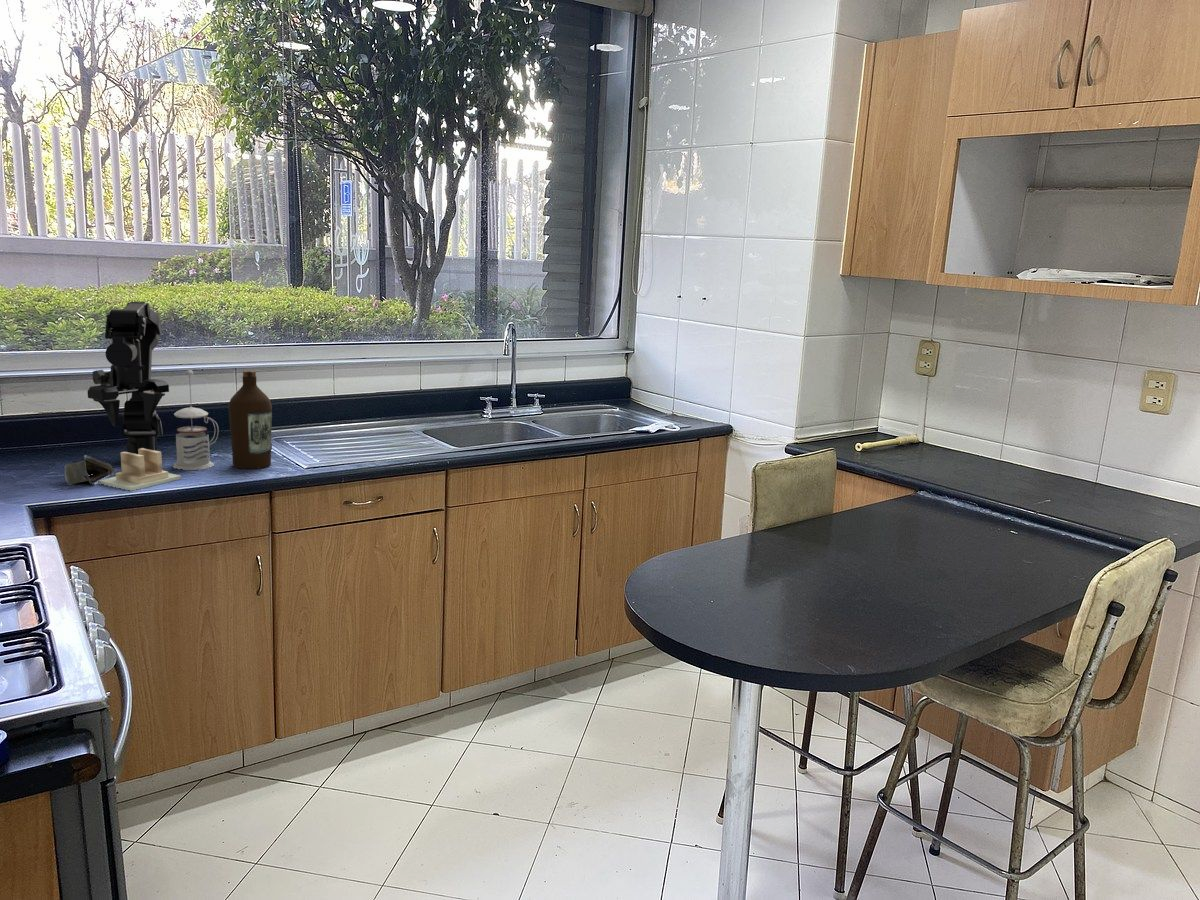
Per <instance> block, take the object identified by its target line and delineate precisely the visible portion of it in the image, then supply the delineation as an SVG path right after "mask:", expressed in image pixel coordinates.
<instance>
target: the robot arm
mask: <svg viewBox="0 0 1200 900" xmlns="http://www.w3.org/2000/svg"><path fill="white" fill-rule="evenodd" d="M105 321H106V322H105V332H104V333H105V334H104V339H106V340H109V339H111V341H112V342H111V343H110V344H109V345H108V346H107V347H106V350H105V357H106V360H107V361H108V362H109V363H110V371H108V372H107V371H104V370H103V369H98V370H97V369H96V370H93V371H92V381H93V384H94V386H93V385H90V386H89V388H88V389H87V398H88V399H92V400H93V401H94V402H96V403H99V404H100V405H101V406H102V408H103V409H104V411H105V413H106V415H107V417H108V419H109V421H110V423H111V426H112V427H116V428H117V427H118V423H119V419H120V425H121V433H122V437H123V438H127V442H126V449H127V451H126V452H129V453H134V454H138V449H141V448H144V449H149V450H154V451H158V441H157V440H158V439H157V438H159V436H160V437H161V436H163V426H162V421H161V418H160V417H159V414H158V413H157V411H156V409H157V407H158V405H159V403H160V402H161V400H162V397H165V396H166V393H169V392H170V385H169V384H168V382H167V380H164V379H162V380H161V379H158V378H156V379H155V378H152V362H153V361H152V359H153V350H154V349H155V348H156V347H157V346H158V345H159V342H160V336H162V334H163V333H162V332H163V330H162V328H163V327H162V326H163V325H162V322H161V317H160V314H158V313H157V312H156V311H154V309H152V308H151V305H150V303H149V302H146V301H128V302H127V303H126V306H125V307H124V308H122V309H119V308H118V309H116V308H111V309H110V310H109V313H107V314H106V320H105ZM126 394H127V395H128V394H131V397H130V398H129V399H128V400H125V402H124V404H123V405H124V407H123V413H122V414H121V416H120V404H121V403H120V402H121V400H120V399H118V397H119V395H126ZM119 416H120V418H119Z"/></svg>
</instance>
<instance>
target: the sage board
mask: <svg viewBox="0 0 1200 900" xmlns="http://www.w3.org/2000/svg"><path fill="white" fill-rule="evenodd" d="M168 477H169V478H165V479H161V480H157V481H152V482H148V483H144V484H135V483H130V482H126V481H121V480H117V479H116V476H111V477H108V478H106V479H103V480H98V483H99V484H98V485H101V484H104V485H103V486H106V485H108V486H107V487H110V486H113V487H112V488H115V487H116V488H115V489H119V488H121V489H120V490H124V489H125V491H128V490H130V491H129V492H132V490H133V491H136V489H137V490H140V488H141V489H145V488H149V487H154V486H157V485H158V486H159V485H162V484H165V483H169V482H170V483H171V482H174V481H179V480H182V475H179V474H175V473H170V472H168Z"/></svg>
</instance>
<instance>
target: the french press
mask: <svg viewBox="0 0 1200 900" xmlns="http://www.w3.org/2000/svg"><path fill="white" fill-rule="evenodd" d="M185 375H186V376H188V377H189V378H188V379H189V380H188V381H189V382H191V376H194V371H193V370H191V369H189V370H185ZM191 386H192V385H191V384H189V397H190V398H189V399H190V404H192V392H191V391H192V389H191ZM173 415H174V417H176V418H180V419H190V421H191V426H190V425H187V426H182V427H178V428H177V429H176V431H177V432H178V433H176V434H175V445H176V462H175V463H174V464H173V465H174V466H172V468H174V469H176V468H177V469H176V470H180V469H183V470H184V471H196V470H197V469H198V470H204V469H205V470H206V469H210V468H211V467H214V466H215V464H214V463H213V462H212V461H211V459H210V458H211V457H210V452H211V451H210V446H212V445H213V444H215V443H216V441H217V440H218V438H219V434H220V431H219V430H220V428H219V425H218V423H217V421H216V420H214V419H213V418H211V417H208V415H209V412H208V411H206V410H204V409H202V408H199V407H194V406H189V407H185V408H181V409H179V410H177V411H176V412H174V413H173ZM199 418H200V419H201V418H203V421H204V423H205V424H208V423H209V421H210V422H212V424H213V427H214V428H213V429H214V433H213V436H212V438H211V440H210V437H209V433H206V431H207V430H208V428H207V427H205V426H200V425H199V426H198V425H193V419H199ZM216 428H217V430H216ZM216 431H217V434H216ZM189 436H190V437H189ZM215 436H216V438H215ZM213 440H214V441H213ZM212 441H213V442H212ZM186 447H187V448H186ZM193 451H194V452H193ZM186 452H187V453H186ZM209 467H210V468H209ZM183 470H182V471H183Z"/></svg>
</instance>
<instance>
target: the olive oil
mask: <svg viewBox="0 0 1200 900" xmlns="http://www.w3.org/2000/svg"><path fill="white" fill-rule="evenodd" d="M228 419H229V430H230V444H231V453H232V454H231V456H232V457H231V459H232V466H233V467H234V468H236V469H241V470H256V469H258V470H259V469H264V468H268V467H270V466H271V465H272V462H271V461H272V449H273V444H272V423H273V422H272V421H273V405H272V402H271V400H270V398H269V396H267V394H266V393H264V391H262V389H260V388H259V386H258V385H257V371H255V370H250V369H249V370H247V369H246V370H243V371H242V386H241V387H240V388H238V390H237V391H236V392H235V393H234V395H233V396H232V397H231V398H230V400H229V403H228Z"/></svg>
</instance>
